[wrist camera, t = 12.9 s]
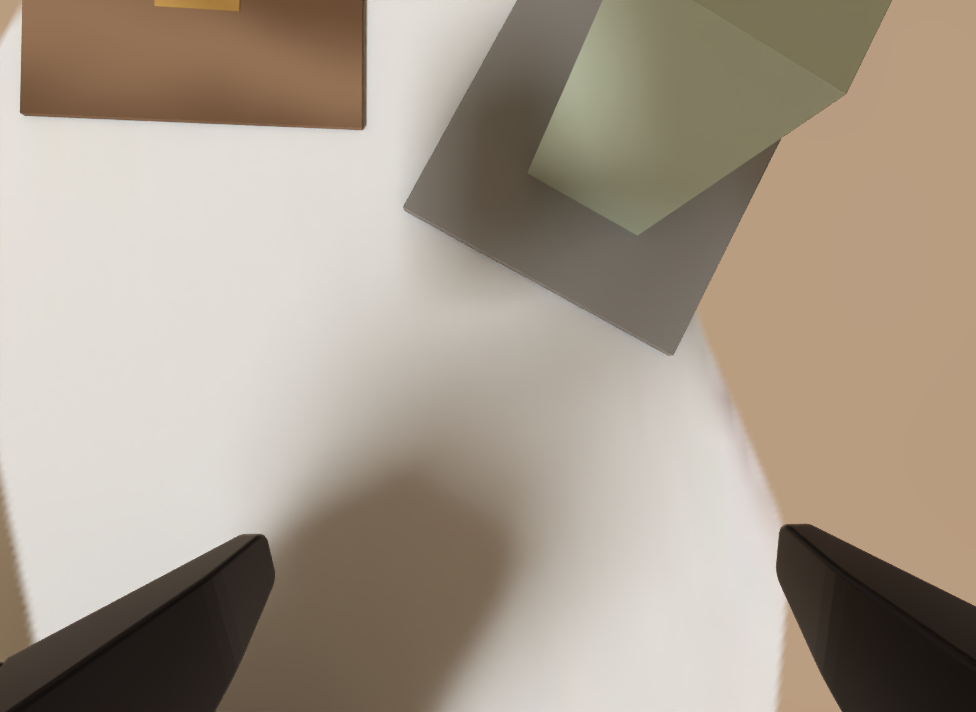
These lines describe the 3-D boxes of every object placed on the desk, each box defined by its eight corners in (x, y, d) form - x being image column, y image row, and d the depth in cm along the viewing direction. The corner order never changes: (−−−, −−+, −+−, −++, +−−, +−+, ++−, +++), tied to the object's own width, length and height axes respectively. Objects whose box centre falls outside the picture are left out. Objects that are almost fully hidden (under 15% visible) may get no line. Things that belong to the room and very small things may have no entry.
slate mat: (668, 355, 20) (673, 355, 19) (404, 210, 19) (403, 206, 18) (793, 103, 20) (800, 98, 20) (545, -47, 20) (547, -55, 19)
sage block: (637, 235, 19) (846, 93, 9) (527, 173, 19) (621, -44, 9) (692, 128, 20) (950, -120, 10) (585, 64, 19) (738, -261, 9)
